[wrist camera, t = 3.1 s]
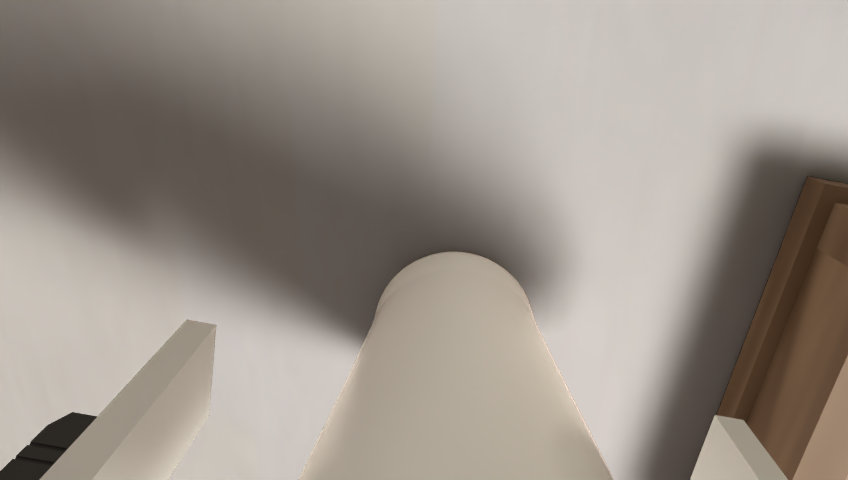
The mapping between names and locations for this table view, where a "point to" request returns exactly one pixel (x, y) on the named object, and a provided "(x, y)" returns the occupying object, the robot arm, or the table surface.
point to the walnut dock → (801, 344)
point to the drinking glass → (455, 387)
